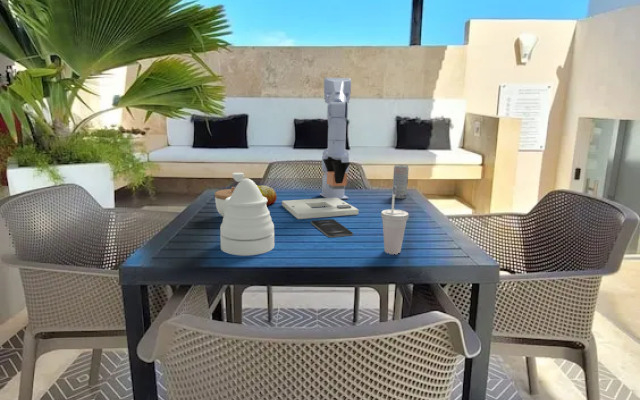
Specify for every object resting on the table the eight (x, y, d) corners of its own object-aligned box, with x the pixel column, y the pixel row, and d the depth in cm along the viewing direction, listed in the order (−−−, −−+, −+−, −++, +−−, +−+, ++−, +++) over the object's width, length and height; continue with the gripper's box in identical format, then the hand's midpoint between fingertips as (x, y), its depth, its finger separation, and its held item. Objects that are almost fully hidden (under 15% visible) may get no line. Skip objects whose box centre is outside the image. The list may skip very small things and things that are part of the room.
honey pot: (226, 258, 96) (224, 179, 92) (216, 241, 108) (213, 170, 104) (281, 251, 101) (281, 176, 97) (265, 235, 113) (265, 167, 109)
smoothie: (376, 247, 106) (379, 191, 102) (402, 247, 106) (405, 191, 103) (382, 256, 99) (385, 197, 96) (409, 256, 100) (413, 197, 97)
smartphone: (328, 236, 112) (309, 220, 126) (328, 239, 112) (309, 223, 126) (354, 234, 115) (333, 218, 128) (354, 237, 115) (333, 221, 129)
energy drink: (405, 195, 165) (408, 164, 162) (407, 199, 160) (409, 166, 157) (391, 195, 165) (393, 164, 163) (392, 198, 160) (394, 166, 157)
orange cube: (326, 186, 144) (327, 170, 142) (340, 186, 145) (341, 170, 144) (332, 189, 139) (333, 173, 138) (346, 189, 141) (347, 172, 140)
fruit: (276, 206, 143) (269, 183, 141) (246, 214, 144) (239, 192, 142) (280, 198, 154) (273, 177, 152) (252, 206, 154) (245, 185, 153)
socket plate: (282, 205, 146) (282, 199, 145) (336, 201, 153) (336, 195, 152) (297, 219, 129) (298, 211, 129) (358, 214, 136) (358, 207, 136)
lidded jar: (258, 215, 132) (258, 185, 130) (238, 224, 123) (237, 192, 121) (230, 211, 137) (229, 182, 134) (208, 219, 127) (206, 188, 125)
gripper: (357, 141, 133) (356, 184, 136) (339, 138, 147) (337, 177, 150) (337, 142, 131) (335, 186, 134) (319, 138, 144) (318, 178, 147)
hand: (335, 181), depth 142 cm, fingers closed on orange cube, 5 cm apart
